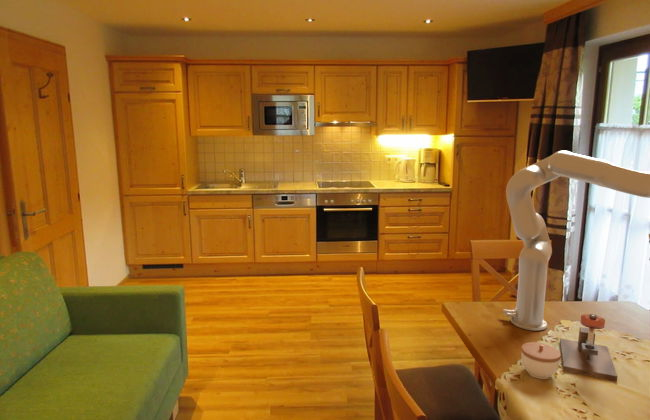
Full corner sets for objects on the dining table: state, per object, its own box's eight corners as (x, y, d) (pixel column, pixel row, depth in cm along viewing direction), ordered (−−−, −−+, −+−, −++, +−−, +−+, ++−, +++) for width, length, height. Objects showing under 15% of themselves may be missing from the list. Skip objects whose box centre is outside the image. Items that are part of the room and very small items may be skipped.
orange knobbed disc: (577, 361, 138) (582, 317, 135) (575, 352, 144) (580, 309, 141) (601, 365, 135) (607, 321, 133) (598, 356, 141) (603, 313, 138)
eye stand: (563, 370, 137) (566, 345, 136) (559, 342, 155) (562, 319, 154) (617, 381, 132) (620, 354, 130) (606, 350, 150) (609, 326, 148)
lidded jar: (556, 387, 128) (559, 357, 127) (516, 376, 134) (519, 348, 132) (560, 370, 137) (562, 342, 136) (522, 361, 143) (524, 334, 141)
